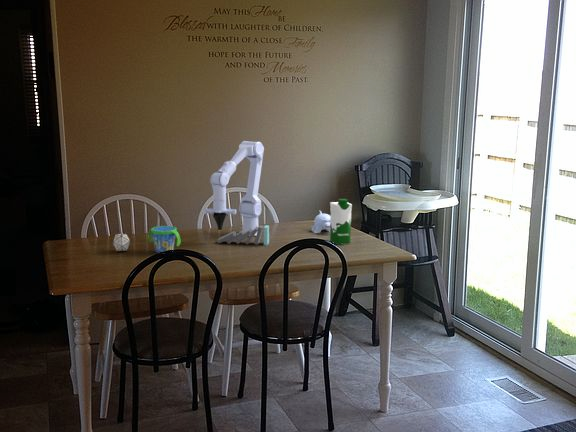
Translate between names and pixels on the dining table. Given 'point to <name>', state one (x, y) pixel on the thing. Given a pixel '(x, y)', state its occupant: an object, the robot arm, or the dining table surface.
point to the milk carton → (340, 221)
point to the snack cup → (164, 238)
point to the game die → (121, 242)
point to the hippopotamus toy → (321, 223)
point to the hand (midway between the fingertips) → (220, 229)
